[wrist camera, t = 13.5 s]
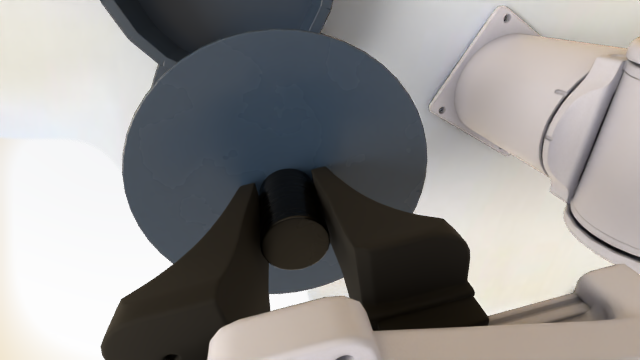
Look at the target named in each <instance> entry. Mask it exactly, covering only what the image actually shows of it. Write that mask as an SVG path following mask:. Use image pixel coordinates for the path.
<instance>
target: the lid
mask: <svg viewBox="0 0 640 360" xmlns="http://www.w3.org/2000/svg"><path fill="white" fill-rule="evenodd" d="M320 167H327V168H328V169H329V170H330V171H331V172H332V173H333V174H335V175H336V176H337V177H338V178H339V179H341V180H342V181H343V182H344V183H346V184H347V185H349V186H350V187H351V188H353V189H354V190H356V191H357V192H359V193H361V194H362V195H364V196H366V197H368V198H370V199H372V200H374V201H376V202H379V203H381V204H383V205H386V206H389V207H392V208H395V209H398V210H401V211H405V212H409V213H413V212H414V210H415V208H416V206H417V203H418V201H419V198H420V195H421V193H422V189H423V185H424V181H425V177H426V167H427V145H426V139H425V134H424V128H423V125H422V122H421V119H420V116H419V113H418V111H417V109H416V107H415V105H414V103H413V101H412V99H411V97H410V96H409V94H408V92H407V91H406V90H405V88H404V87H403V86H402V84H401V83H400V82H399V80H398V79H397V78H396V77H395V76H394V75H393V74H392V73H391V72H390V71H389V70H388V69H387V68H386V67H385V66H384V65H383V64H381V63H380V62H378V61H377V60H376V59H374V58H373V57H371V56H370V55H369V54H367V53H366V52H364V51H362V50H360V49H358V48H356V47H354V46H352V45H350V44H348V43H346V42H345V41H343V40H340V39H337V38H334V37H331V36H328V35H325V34H322V33H317V32H312V31H306V30H300V29H285V28H269V29H260V30H251V31H245V32H242V33H238V34H234V35H230V36H227V37H223V38H221V39H219V40H216V41H214V42H212V43H209V44H207V45H205V46H202V47H200V48H199V49H197V50H195V51H194V52H192V53H191V54H189V55H187V56H186V57H184V58H183V59H181V60H180V61H179V62H177V63H176V64H175V65H174V66H173V67H172V68H170V69H169V70H168V71H167V72H166V73H165V74H164V75H162V76H161V77H160V78H159V79H158V81H157V82H156V83H155V84H154V85H153V87H152V88H151V89H150V90H149V91H148V93H147V94H146V95H145V96H144V98H143V100H142V102H141V103H140V105H139V107H138V108H137V110H136V112H135V114H134V116H133V118H132V121H131V124H130V126H129V129H128V132H127V134H126V139H125V145H124V150H123V163H122V175H123V182H124V188H125V194H126V197H127V200H128V203H129V206H130V209H131V212H132V213H133V216H134V218H135V220H136V222H137V223H138V226H139V227H140V229H141V230H142V231H143V233H144V234H145V236H146V237H147V239H148V240H149V241H150V242H151V243H152V244H153V246H154V247H155V248H156V249H157V250H158V251H159V252H160V253H161V254H162V255H163V256H165V257H166V258H167V259H168V260H169V261H171V262H172V263H173V264H174V263H176V262H177V261H178V260H179V259H180V258H181V257H182V256H184V255H185V254H186V253H187V252H188V251H189V250H190V249H191V248H193V247H194V246H195V245H196V244H197V243H198V242H199V241H200V240H201V239H202V238H203V236H204V235H205V234H206V233H207V232H208V231H209V230H210V229H211V227H212V226H213V225H214V223H215V222H216V221H217V220H218V218H219V217H220V216H221V214H222V213H223V211H224V210H225V209H226V207H227V206H228V204H229V203H230V201H231V199H232V198H233V196H234V195H235V193H236V192H237V190H238V189H239V187H240V186H242V185H247V184H251V183H255V185H256V188H257V191H258V195H259V198H260V247H261V252H262V255H263V256H264V258H265V259H266V260H267V261H268V262H269V284H268V285H269V294H283V293H291V292H298V291H304V290H308V289H313V288H316V287H320V286H323V285H326V284H329V283H332V282H334V281H337V280H339V279H341V278H343V277H344V276H343V273H342V271H341V268H340V265H339V263H338V260H337V258H336V255H335V253H334V250H333V248H332V246H331V243H330V234H329V231H328V228H327V224H326V221H325V218H324V215H323V211H322V208H321V205H320V202H319V199H318V196H317V193H316V190H315V186H314V182H313V177H312V172H311V170H312V169H316V168H320Z"/></svg>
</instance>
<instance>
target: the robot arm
mask: <svg viewBox="0 0 640 360" xmlns="http://www.w3.org/2000/svg"><path fill="white" fill-rule="evenodd" d="M506 15H507V19H506V21H505V22H504V17H505V16H506ZM441 107H443V109H442V111H441V112H439V109H440V108H441ZM429 110H430V111H431V112H432V113H433V114H435V115H437V116H439V117H440V118H442V119H444V120H445V121H447V122H449V123H450V124H452V125H454V126H456V127H457V128H459V129H461V130H462V131H464V132H466V133H468V134H469V135H471V136H473V137H474V138H476V139H478V140H479V141H481V142H483V143H485V144H486V145H488V146H490V147H491V148H493V149H495V150H497V151H498V152H500V153H502V154H503V155H505V156H509V155H511V154H512V155H513V156H515V157H517V158H518V159H520V160H521V161H523V162H525V163H526V164H528V165H530V166H531V167H533V168H534V169H536V170H538V171H539V172H541V173H543V174H544V175H546V176H547V177H549V178H550V180H551V187H550V192H551V193H552V194H554V195H555V196H557V197H558V198H560V199H561V200H563V201H564V202H566V203H567V204H566V207H565V210H564V213H563V214H564V221H565V224H566V226H567V228H568V229H569V231H570V232H571V233H572V234H573V235H574V236H575V237H576V238H577V239H578V240H579V241H580V242H581V243H582V244H584V245H585V246H586V247H587V248H589V249H590V250H591V251H593V252H594V253H596V254H597V255H599V256H600V257H602V258H604V259H605V260H607V261H609V262H611V263H613V264H615V265H612V266H608V267H605V268H601V269H597V270H594V271H590V272H588V273H586V274H584V275H583V276H582V277H580V279H579V280H578V282H577V284H576V288H575V293H571V294H568V295H564V296H560V297H557V298H553V299H549V300H545V301H542V302H538V303H534V304H531V305H527V306H523V307H520V308H516V309H512V310H509V311H505V312H501V313H498V314H494V315H490V316H487V315H486V313H485V312H484V310H483V309H482V308H481V306H480V305H479V304H478V302H477V301H476V299H475V298H474V297H473V296H474V294H475V292H474V289H473V288H472V286H471V285H470V284H469V282H468V281H467V278H468V270H469V263H470V249H469V247H468V245H467V243H466V242H465V241H464V239H463V238H462V237H461V236H460V235H459V234H458V232H457V231H456V230H455V229H454V228H453V227H452V226H451V225H449V224H448V223H447V222H446V221H445V220H444V219H441V218H435V217H428V216H422V215H417V214H413V213H409V212H405V211H401V210H398V209H395V208H392V207H389V206H386V205H383V204H381V203H379V202H376V201H374V200H372V199H370V198H368V197H366V196H364V195H362V194H361V193H359V192H357V191H356V190H354V189H353V188H351V187H350V186H349V185H347V184H346V183H344V182H343V181H342V180H341V179H339V178H338V177H337V176H336V175H335V174H333V173H332V172H331V171H330V170H329V169H328V168H327V167H320V168H316V169H312V170H311V172H312V177H313V182H314V186H315V190H316V193H317V196H318V199H319V202H320V205H321V208H322V211H323V215H324V218H325V221H326V224H327V228H328V231H329V234H330V243H331V246H332V248H333V250H334V253H335V255H336V258H337V260H338V263H339V265H340V268H341V271H342V273H343V276H344V280H345V283H346V287H347V290H348V293H349V297H350V298H348V297H345V296H334V297H323V298H320V299H316V300H312V301H308V302H305V303H300V304H297V305H293V306H289V307H285V308H281V309H277V310H273V311H270V303H269V285H268V284H269V262H268V261H267V260H266V259H265V258H264V256H263V255H262V252H261V247H260V198H259V195H258V191H257V188H256V185H255V183H251V184H247V185H242V186H240V187H239V189H238V190H237V192H236V193H235V195H234V196H233V198H232V199H231V201H230V203H229V204H228V206H227V207H226V209H225V210H224V211H223V213H222V214H221V216H220V217H219V218H218V220H217V221H216V222H215V223H214V225H213V226H212V227H211V229H210V230H209V231H208V232H207V233H206V234H205V235H204V236H203V238H202V239H201V240H200V241H199V242H198V243H197V244H196V245H195V246H194V247H193V248H191V249H190V250H189V251H188V252H187V253H186V254H185V255H184V256H182V257H181V258H180V259H179V260H178V261H177V262H176V263H174V264H173V265H172V266H170V267H169V268H168V269H167V270H165V271H164V272H162V273H161V274H160V275H159V276H157V277H156V278H154V279H153V280H151V281H150V282H148V283H147V284H145V285H143V286H142V287H140V288H139V289H137V290H136V291H134V292H132V293H131V294H129V295H127V296H126V297H124V298H122V299H121V301H120V303H119V305H118V307H117V309H116V311H115V314H114V316H113V318H112V320H111V323H110V325H109V327H108V330H107V332H106V334H105V336H104V339H103V342H102V345H101V351H102V355H103V357H104V359H105V360H640V275H639V274H640V37H638V38H636V39H634V40H633V41H632V42H631V43H630V44H629V47H628V49H627V48H620V47H613V46H605V45H598V44H591V43H584V42H577V41H569V40H562V39H555V38H548V37H541V36H540V35H539V34H538V33H537V32H536V31H534V30H533V29H532V28H531V27H530V26H529V25H528V24H526V23H525V22H524V21H523V20H522V19H521V18H520V17H518V16H517V15H516V14H515V13H514V12H513V11H512V10H510V9H509V8H508V7H506V6H499V7H497V8H496V9H495V10H494V11H493V13H492V14H491V16H490V17H489V19H488V20H487V22H486V23H485V24H484V26H483V27H482V29H481V30H480V32H479V33H478V35H477V36H476V38H475V39H474V40H473V42H472V43H471V45H470V46H469V48H468V49H467V51H466V52H465V54H464V55H463V56H462V58H461V59H460V61H459V62H458V64H457V65H456V67H455V68H454V70H453V71H452V72H451V74H450V75H449V77H448V78H447V80H446V81H445V83H444V84H443V86H442V87H441V88H440V90H439V91H438V93H437V94H436V96H435V97H434V99H433V100H432V102H431V103H430V105H429Z"/></svg>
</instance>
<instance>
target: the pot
mask: <svg viewBox="0 0 640 360" xmlns="http://www.w3.org/2000/svg"><path fill="white" fill-rule="evenodd" d="M100 1H101V3H102V5H103V6H104V7H105V9H106V10H107V11H108V13H109V14H110V15H111V17H112V18H113V19H114V21H115V22H116V23H117V25H118V26H119V27H120V29H121V30H122V31H123V33H124V34H125V35H126V37H127V38H128V39H130V41H131V42H132V43H133V44H135V45H136V46H137V47H138V48H140V49H141V50H142V51H143V52H144V53H146V54H147V55H148V56H149V57H151V58H152V59H153V60H154V61H155V62H157V63H158V67H157V70H156V73H155V76H154V80H153V83H152V86H151V88H152V87H153V85H154V84H155V83H156V82H157V81H158V79H159V78H160V77H161V76H162V75H164V74H165V73H166V72H167V71H168V70H169V69H170V68H172V67H173V66H174V65H175V64H176V63H177V62H179V61H180V60H181V59H183V58H184V57H186V56H187V55H189V54H191V53H192V52H194V51H195V50H197V49H199V48H200V47H202V46H205V45H207V44H209V43H212V42H214V41H216V40H219V39H221V38H223V37H227V36H230V35H234V34H238V33H242V32H245V31H251V30H260V29H269V28H285V29H300V30H306V31H312V32H317V33H320V32H321V30H322V28H323V26H324V24H325V22H326V19H327V17H328V15H329V13H330V10H331V8H332V2H333V0H100Z"/></svg>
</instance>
